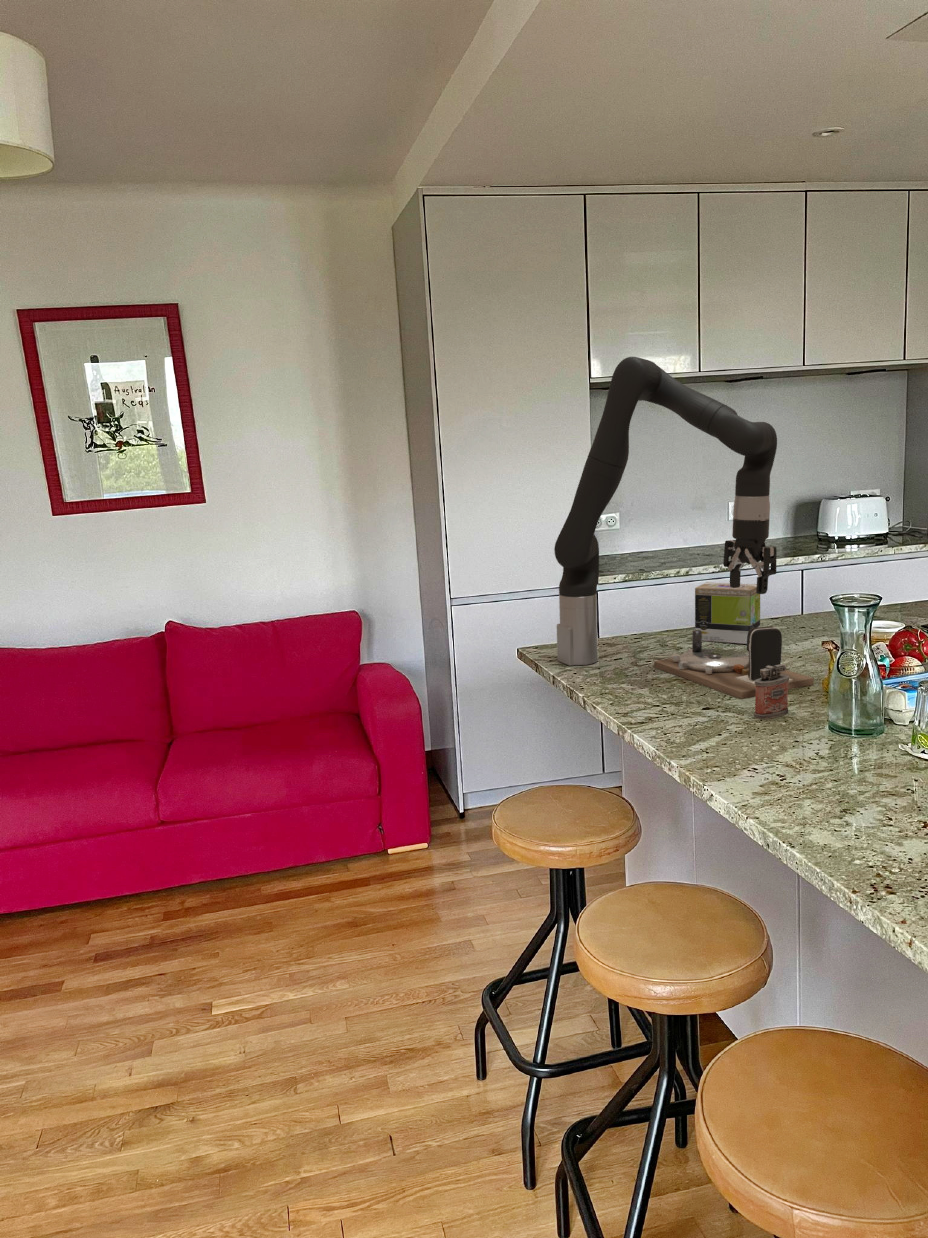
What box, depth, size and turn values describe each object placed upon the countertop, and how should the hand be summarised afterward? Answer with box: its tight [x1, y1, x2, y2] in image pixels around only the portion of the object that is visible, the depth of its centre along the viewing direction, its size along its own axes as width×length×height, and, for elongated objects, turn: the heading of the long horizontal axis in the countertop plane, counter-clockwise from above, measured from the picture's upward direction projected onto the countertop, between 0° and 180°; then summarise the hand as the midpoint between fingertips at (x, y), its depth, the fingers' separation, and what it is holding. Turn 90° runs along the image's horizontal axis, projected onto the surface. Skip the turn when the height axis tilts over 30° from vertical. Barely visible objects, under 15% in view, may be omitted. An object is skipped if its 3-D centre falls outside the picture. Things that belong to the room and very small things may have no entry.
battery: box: [746, 626, 783, 680], centre depth 198 cm, size 7×4×11 cm, turn 96°
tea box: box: [694, 581, 761, 645], centre depth 242 cm, size 15×10×15 cm, turn 58°
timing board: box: [653, 657, 815, 700], centre depth 209 cm, size 20×31×2 cm, turn 24°
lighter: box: [753, 663, 789, 720], centre depth 179 cm, size 8×3×10 cm, turn 118°
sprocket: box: [672, 629, 749, 674], centre depth 213 cm, size 19×19×6 cm
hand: (748, 590), depth 198 cm, fingers open, 8 cm apart
